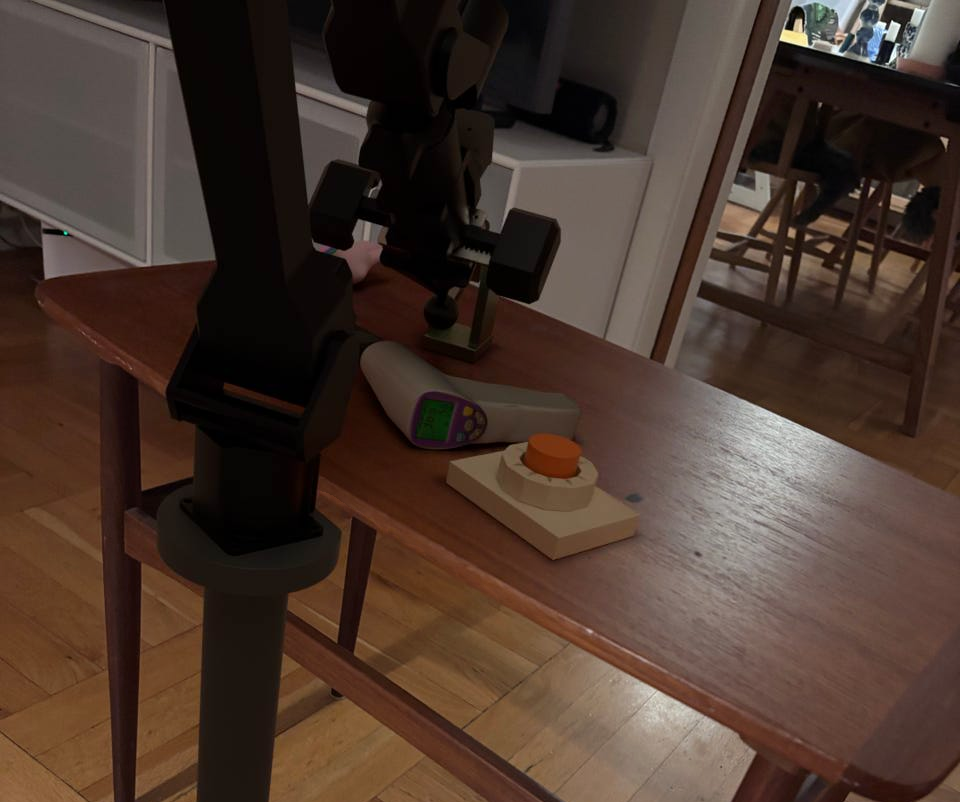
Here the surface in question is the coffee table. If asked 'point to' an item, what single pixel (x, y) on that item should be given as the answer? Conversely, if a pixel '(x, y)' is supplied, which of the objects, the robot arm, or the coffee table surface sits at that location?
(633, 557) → the coffee table surface
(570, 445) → the button
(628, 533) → the button box
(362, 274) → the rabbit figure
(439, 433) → the infrared thermometer
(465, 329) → the switch bracket
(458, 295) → the switch lever
